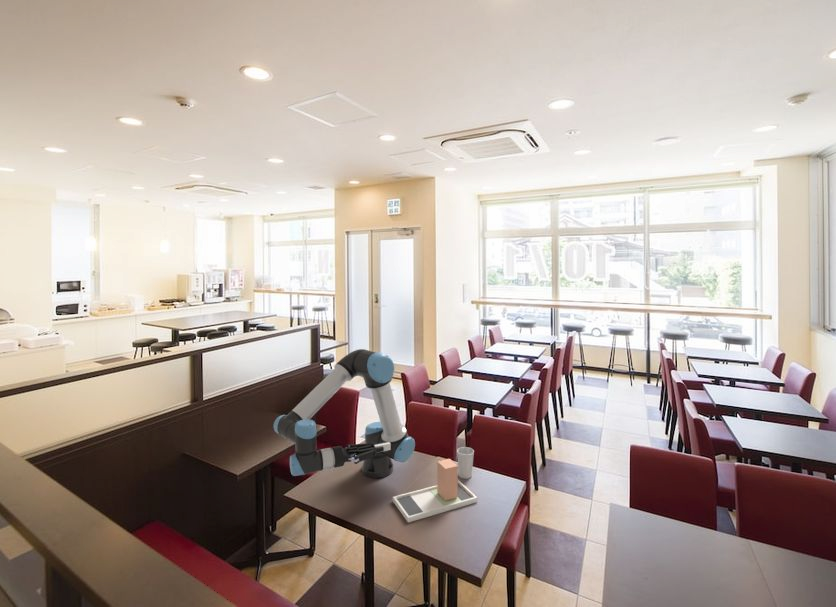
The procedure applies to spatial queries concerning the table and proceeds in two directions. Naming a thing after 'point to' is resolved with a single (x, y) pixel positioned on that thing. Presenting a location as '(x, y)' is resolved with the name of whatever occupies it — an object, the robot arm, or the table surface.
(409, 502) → the sorting tray
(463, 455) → the cup
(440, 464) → the block
